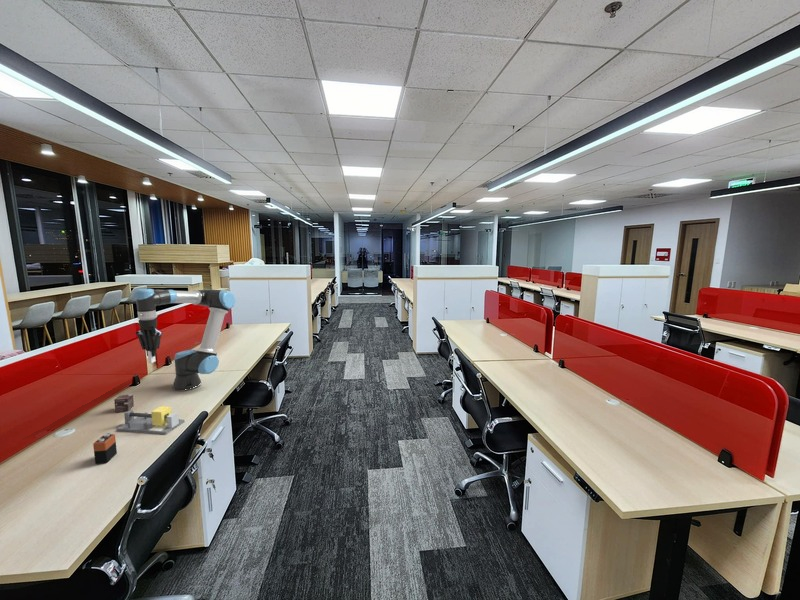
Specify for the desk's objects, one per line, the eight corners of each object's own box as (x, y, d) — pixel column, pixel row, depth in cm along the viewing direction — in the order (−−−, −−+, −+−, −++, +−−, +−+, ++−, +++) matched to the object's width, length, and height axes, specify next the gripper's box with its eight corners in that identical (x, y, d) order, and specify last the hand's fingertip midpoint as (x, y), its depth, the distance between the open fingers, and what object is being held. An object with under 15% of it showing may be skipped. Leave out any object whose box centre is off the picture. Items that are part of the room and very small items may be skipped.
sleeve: (162, 418, 164) (161, 406, 163) (171, 419, 163) (170, 406, 163) (152, 425, 158) (151, 411, 157) (162, 425, 158) (161, 412, 157)
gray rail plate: (138, 418, 168) (137, 406, 167) (184, 421, 166) (183, 409, 166) (116, 430, 156) (115, 417, 156) (165, 434, 155) (165, 421, 154)
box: (114, 412, 174) (113, 399, 173) (121, 407, 180) (120, 395, 179) (128, 411, 175) (127, 398, 174) (134, 406, 181) (133, 394, 180)
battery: (117, 453, 139) (115, 431, 138) (107, 463, 133) (105, 440, 131) (105, 454, 138) (103, 432, 137) (94, 464, 132) (92, 441, 130)
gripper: (129, 319, 166) (134, 364, 170) (153, 320, 166) (158, 365, 169) (141, 316, 174) (146, 359, 177) (165, 317, 173) (169, 360, 177)
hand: (152, 362), depth 173 cm, fingers closed
